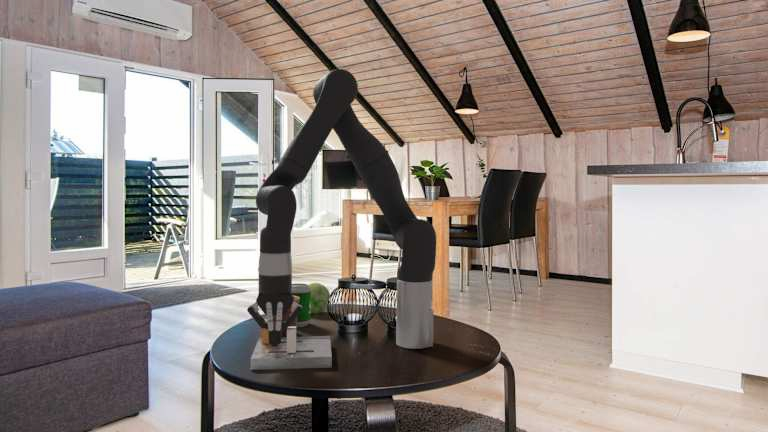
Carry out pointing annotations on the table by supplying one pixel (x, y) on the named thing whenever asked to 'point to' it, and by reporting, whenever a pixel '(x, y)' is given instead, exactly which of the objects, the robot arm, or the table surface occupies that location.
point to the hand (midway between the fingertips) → (274, 345)
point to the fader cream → (291, 339)
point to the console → (293, 354)
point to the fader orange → (265, 335)
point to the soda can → (303, 303)
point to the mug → (286, 315)
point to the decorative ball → (318, 297)
